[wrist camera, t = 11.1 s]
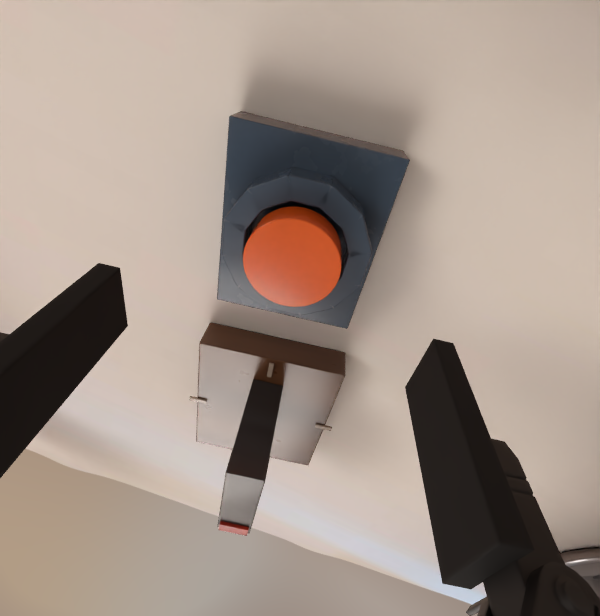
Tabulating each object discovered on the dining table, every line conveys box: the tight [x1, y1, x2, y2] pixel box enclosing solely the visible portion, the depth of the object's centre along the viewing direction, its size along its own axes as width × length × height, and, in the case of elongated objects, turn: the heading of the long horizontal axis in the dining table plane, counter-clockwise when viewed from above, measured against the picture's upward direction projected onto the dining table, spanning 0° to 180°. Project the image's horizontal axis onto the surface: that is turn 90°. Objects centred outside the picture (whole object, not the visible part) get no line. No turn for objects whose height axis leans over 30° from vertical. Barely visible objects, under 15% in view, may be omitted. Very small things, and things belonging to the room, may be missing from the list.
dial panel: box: [190, 323, 345, 465], centre depth 30 cm, size 13×12×3 cm
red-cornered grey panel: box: [218, 379, 283, 536], centre depth 26 cm, size 8×2×8 cm, turn 168°
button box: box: [217, 111, 410, 329], centre depth 20 cm, size 11×9×4 cm
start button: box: [243, 206, 342, 307], centre depth 18 cm, size 5×5×2 cm
